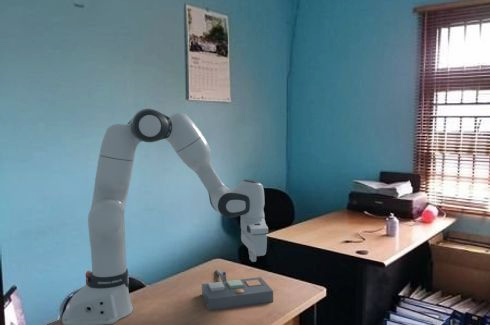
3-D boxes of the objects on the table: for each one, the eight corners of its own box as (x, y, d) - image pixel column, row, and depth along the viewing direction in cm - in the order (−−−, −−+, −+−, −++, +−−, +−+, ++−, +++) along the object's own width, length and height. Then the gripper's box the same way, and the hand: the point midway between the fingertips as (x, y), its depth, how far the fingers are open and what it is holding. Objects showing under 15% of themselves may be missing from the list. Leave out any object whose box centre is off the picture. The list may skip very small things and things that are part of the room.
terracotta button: (249, 293, 154) (248, 286, 153) (245, 288, 158) (245, 281, 158) (262, 292, 155) (261, 284, 155) (257, 287, 160) (257, 279, 159)
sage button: (230, 294, 152) (230, 286, 151) (227, 288, 156) (226, 281, 156) (243, 292, 153) (243, 284, 153) (240, 287, 158) (239, 279, 157)
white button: (211, 296, 150) (211, 288, 149) (208, 291, 155) (208, 283, 154) (224, 294, 151) (224, 286, 151) (221, 289, 156) (221, 281, 156)
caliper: (226, 289, 162) (226, 273, 162) (223, 289, 162) (223, 273, 161) (217, 271, 182) (217, 256, 181) (215, 271, 182) (215, 257, 181)
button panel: (209, 310, 143) (209, 297, 143) (202, 294, 157) (201, 282, 156) (273, 301, 149) (273, 289, 149) (260, 287, 163) (260, 275, 162)
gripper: (237, 218, 163) (237, 253, 165) (252, 231, 144) (252, 270, 145) (252, 217, 165) (252, 251, 166) (269, 229, 146) (270, 268, 147)
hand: (252, 260), depth 156 cm, fingers closed
